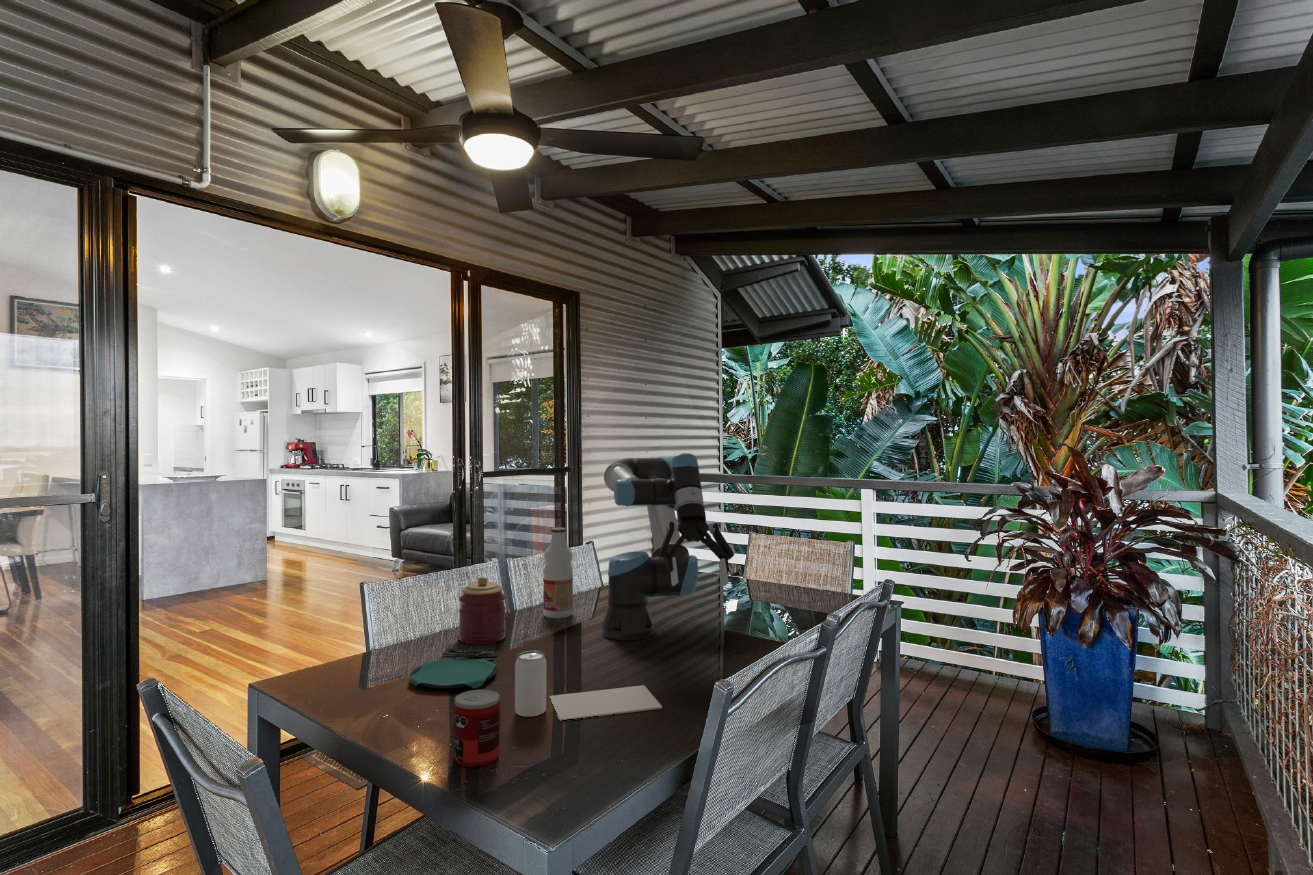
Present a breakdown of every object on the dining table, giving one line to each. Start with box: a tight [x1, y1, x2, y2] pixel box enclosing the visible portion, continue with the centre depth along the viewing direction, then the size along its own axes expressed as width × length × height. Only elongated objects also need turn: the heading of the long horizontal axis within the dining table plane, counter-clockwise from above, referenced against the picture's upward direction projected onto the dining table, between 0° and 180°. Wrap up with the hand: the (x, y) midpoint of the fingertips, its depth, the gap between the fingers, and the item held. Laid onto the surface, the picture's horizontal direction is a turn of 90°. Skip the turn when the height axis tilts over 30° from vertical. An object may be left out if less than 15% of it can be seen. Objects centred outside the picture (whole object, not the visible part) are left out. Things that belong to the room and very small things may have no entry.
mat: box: [548, 684, 663, 722], centre depth 149 cm, size 13×22×1 cm, turn 108°
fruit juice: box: [542, 526, 574, 619], centre depth 220 cm, size 9×9×28 cm
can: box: [514, 650, 547, 717], centre depth 144 cm, size 6×6×12 cm
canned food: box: [453, 689, 501, 768], centre depth 123 cm, size 8×8×11 cm
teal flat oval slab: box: [409, 647, 499, 689], centre depth 169 cm, size 20×30×2 cm, turn 179°
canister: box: [458, 576, 507, 646], centre depth 194 cm, size 13×13×18 cm
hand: (700, 584), depth 172 cm, fingers open, 13 cm apart
